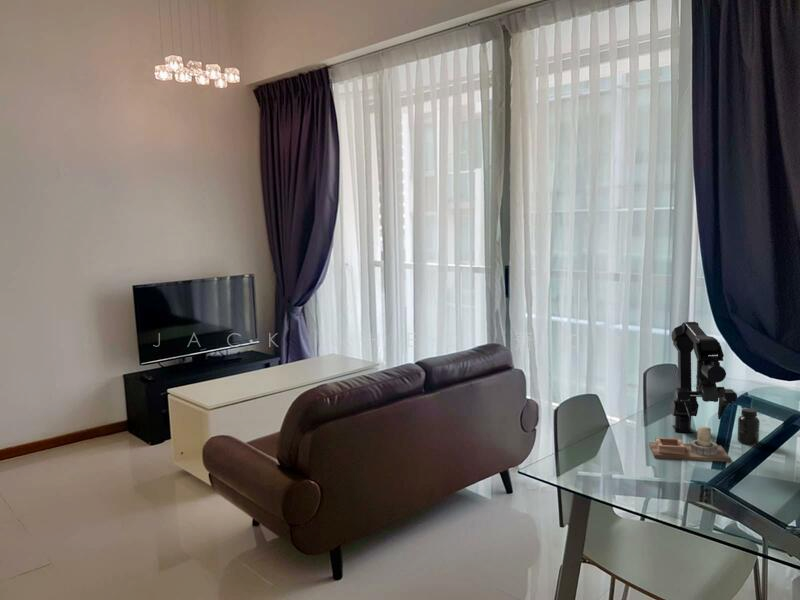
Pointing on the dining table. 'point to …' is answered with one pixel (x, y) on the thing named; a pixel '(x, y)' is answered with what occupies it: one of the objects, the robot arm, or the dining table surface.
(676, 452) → the socket board
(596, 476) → the dining table surface
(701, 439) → the round peg
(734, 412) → the dining table surface
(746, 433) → the supplement bottle
